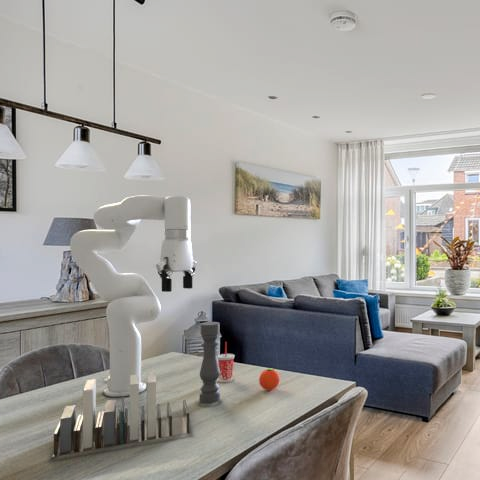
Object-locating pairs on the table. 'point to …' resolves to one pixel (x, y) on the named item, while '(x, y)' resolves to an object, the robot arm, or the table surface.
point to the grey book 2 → (109, 422)
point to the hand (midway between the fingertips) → (177, 289)
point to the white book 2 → (134, 407)
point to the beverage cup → (225, 366)
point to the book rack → (125, 429)
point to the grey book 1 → (67, 428)
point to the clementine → (269, 379)
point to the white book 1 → (89, 413)
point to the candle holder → (209, 364)
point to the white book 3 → (151, 405)
